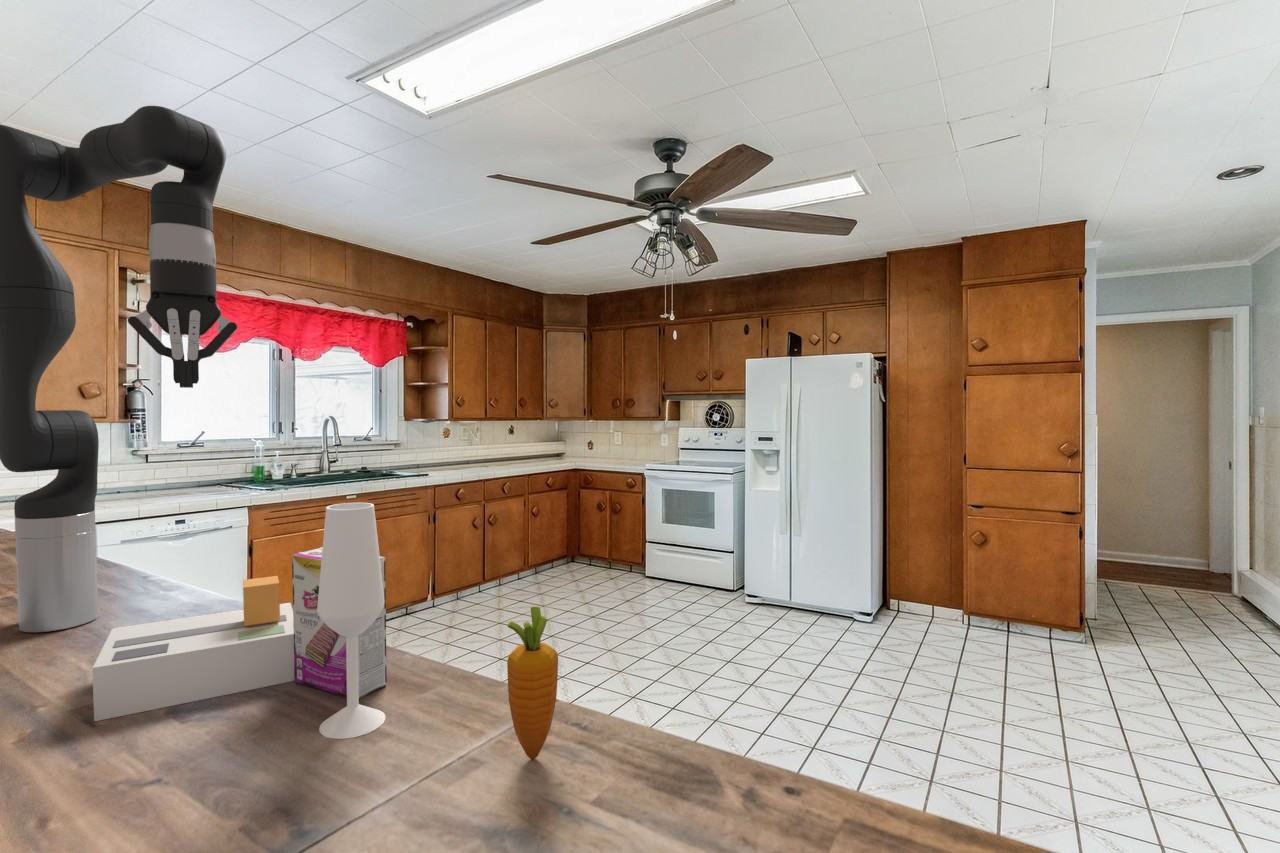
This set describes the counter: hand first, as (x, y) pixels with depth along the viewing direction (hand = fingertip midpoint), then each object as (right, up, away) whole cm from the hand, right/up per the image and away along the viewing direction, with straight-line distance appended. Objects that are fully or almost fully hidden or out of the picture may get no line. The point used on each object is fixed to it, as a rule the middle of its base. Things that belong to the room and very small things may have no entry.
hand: (186, 387), depth 90 cm
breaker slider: (+14, -31, -5) cm, 34 cm away
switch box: (+8, -37, -8) cm, 39 cm away
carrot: (+53, -39, -26) cm, 71 cm away
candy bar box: (+26, -38, -10) cm, 47 cm away
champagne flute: (+32, -38, -19) cm, 53 cm away
